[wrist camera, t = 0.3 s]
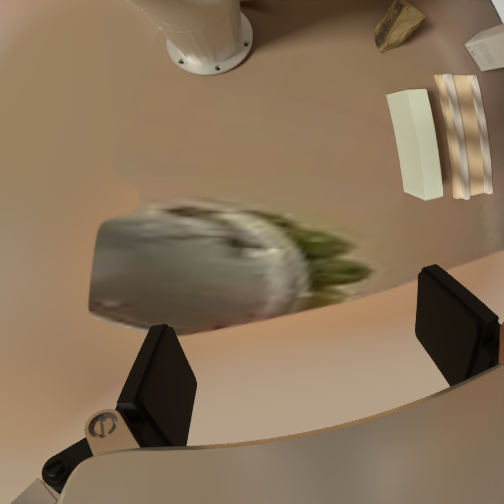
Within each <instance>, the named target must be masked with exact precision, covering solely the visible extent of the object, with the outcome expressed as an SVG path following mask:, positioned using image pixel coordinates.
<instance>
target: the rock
mask: <svg viewBox="0 0 504 504" xmlns="http://www.w3.org/2000/svg"><path fill="white" fill-rule="evenodd" d="M425 17H427V16H426V15H425V14H423V13H422V12H421V11H420V10H418V9H417V8H416V7H415V6H414V5H413V4H411V3H410V2H407V1H406V0H396V1H395V2H394V3H393V4H392V6H391V7H390V8H389V10H388V12H387V14H386V15H385V17H384V18H383V19H382V20H381V22H380V23H379V24H378V25H377V26H376V28H375V29H374V35H375V42H376V45H377V47H378V49H379V52H380V53H383V52H384V51H385V50H389V49H392V48H395V47H398V46H399V45H400V44H402V43H403V42H404V41H405V40H406V38H407V37H408V36H410V34H411V33H412V32H413V30H416V29H419V28H420V27H421V25H422V23H423V21H424V20H425Z"/></svg>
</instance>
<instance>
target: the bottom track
mask: <svg viewBox="0 0 504 504" xmlns="http://www.w3.org/2000/svg"><path fill="white" fill-rule="evenodd" d="M434 77H435V81H436V85H437V89H438V93H439V97H440V102H441V107H442V112H443V117H444V122H445V128H446V134H447V140H448V147H449V155H450V163H451V173H452V184H453V198H455V199H459V198H463V199H465V200H468V199H470V196H472V195H476V194H480V193H484V192H485V193H487V194H492V193H493V192H492V171H491V159H490V149H489V140H488V133H487V126H486V119H485V113H484V108H483V103H482V98H481V93H480V88H479V84H478V80H477V76H476V75H470V76H462V75H452V74H444V75H434Z"/></svg>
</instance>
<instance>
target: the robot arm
mask: <svg viewBox="0 0 504 504" xmlns="http://www.w3.org/2000/svg"><path fill="white" fill-rule="evenodd" d="M127 1H129V2H131V3H134V4H136V5H137V6H138V7H140V8H141V9H142V10H143V11H144V12H145V13H146V14H147V15H148V16H149V17H150V18H151V19H152V20H153V22H154V23H155V24H156V25H157V26H158V27H159V29H160V30H161V31H162V32H163V33H164V34H165V35H166V36H167V49H168V52H169V55H170V57H171V58H172V60H173V61H174V63H175V64H176V65H177V66H179V67H180V68H181V69H183V70H184V71H186V72H189V73H191V74H195V75H200V76H213V75H218V74H222V73H225V72H227V71H230V70H231V69H233V68H234V67H236V66H237V65H239V64H240V63H241V62H242V61H243V60H244V59H245V57H246V56H247V55H248V53H249V51H250V49H251V46H252V42H253V30H252V27H251V23H250V22H249V20H248V18H247V17H246V16H245V15H244V14H243V13H242V12H241V10H240V0H127ZM245 44H247V45H248V46H244V45H245ZM181 62H184V63H183V64H181ZM217 68H220V70H219V71H218V70H217ZM498 319H499V317H498V316H497V315H496V314H495V313H493V312H492V311H491V310H490V309H489V308H488V307H487V306H486V305H485V304H484V303H482V302H481V301H480V300H479V299H478V298H477V297H476V296H475V295H473V294H472V293H471V292H470V291H469V290H467V289H466V288H465V287H464V286H463V285H462V284H460V283H459V282H458V281H457V280H456V279H454V278H453V277H452V276H451V275H449V274H448V273H447V272H446V271H445V270H443V269H442V268H441V267H440V266H438V265H437V264H434V265H431V266H427V267H424V268H422V270H421V272H420V273H419V274H418V294H417V311H416V324H415V333H416V337H417V339H418V340H419V342H420V343H421V344H422V346H423V347H424V348H425V350H426V351H427V353H428V354H429V356H430V357H431V359H432V360H433V361H434V363H435V364H436V366H437V367H438V369H439V370H440V371H441V373H442V375H443V376H444V378H445V379H446V381H447V382H448V383H449V385H450V387H449V388H447V389H444V390H442V391H440V392H437V393H435V394H433V395H430V396H427V397H425V398H423V399H420V400H417V401H414V402H412V403H409V404H406V405H404V406H400V407H398V408H395V409H392V410H389V411H385V412H383V413H379V414H376V415H373V416H370V417H366V418H362V419H359V420H355V421H352V422H348V423H344V424H340V425H336V426H332V427H328V428H323V429H319V430H315V431H310V432H305V433H300V434H294V435H288V436H282V437H277V438H269V439H263V440H256V441H247V442H238V443H227V444H214V445H201V446H186V445H187V440H188V434H189V428H190V422H191V416H192V411H193V405H194V399H195V393H196V389H197V382H196V378H195V376H194V373H193V371H192V369H191V367H190V365H189V363H188V360H187V358H186V356H185V354H184V352H183V350H182V347H181V345H180V343H179V341H178V338H177V336H176V334H175V331H174V329H173V328H172V327H168V325H167V324H161V325H155V326H151V328H150V330H149V332H148V334H147V336H146V338H145V340H144V342H143V345H142V347H141V349H140V351H139V353H138V356H137V358H136V360H135V362H134V364H133V366H132V369H131V371H130V373H129V376H128V378H127V380H126V382H125V385H124V387H123V389H122V392H121V394H120V396H119V399H118V401H117V407H116V409H115V410H113V409H104V410H101V411H98V412H96V413H95V414H93V415H92V416H91V417H90V418H89V419H88V421H87V423H86V425H85V429H84V431H85V435H86V437H85V438H84V439H82V440H80V441H79V442H77V443H75V444H74V445H72V446H70V447H69V448H67V449H65V450H63V451H62V452H60V453H58V454H56V455H55V456H53V457H51V458H50V459H49V460H48V461H47V462H46V463H45V465H44V467H43V469H42V477H43V479H42V480H40V479H38V478H37V479H36V480H35V481H34V482H33V483H32V484H31V485H30V486H29V487H28V488H27V489H26V490H25V491H24V492H23V493H21V495H19V496H18V497H17V498H16V499H15V500H14V501H13V502H12V503H11V504H504V322H503V323H502V325H500V324H499V323H498Z"/></svg>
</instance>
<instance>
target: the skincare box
mask: <svg viewBox="0 0 504 504" xmlns="http://www.w3.org/2000/svg"><path fill="white" fill-rule="evenodd" d="M465 46H466V48H467V49H468V51H469V52H470V54H471V56H472V57H473V59H474V60H475V62H476V63H477V65H478V67H479V68H480V70H481V71H486V70H492V69H497V68H503V67H504V24H501V25H498V26H495V27H492V28H489V29H486V30H483V31H480V32H479V33H478V34H476V35H475V36H474V37H472V38H471V39H470V40H469V41H468V42H466V43H465Z"/></svg>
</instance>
